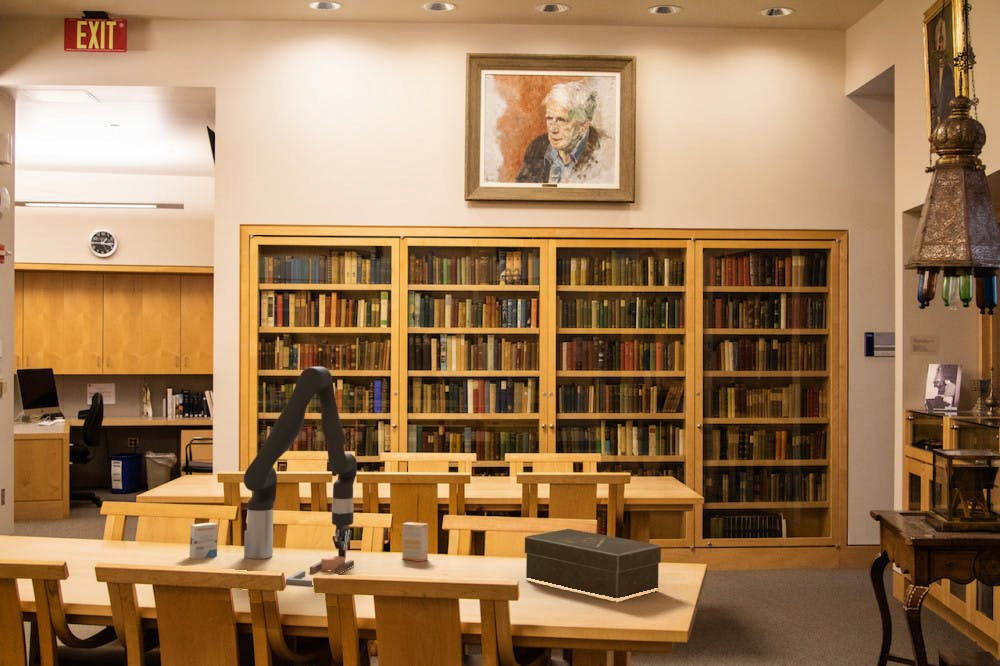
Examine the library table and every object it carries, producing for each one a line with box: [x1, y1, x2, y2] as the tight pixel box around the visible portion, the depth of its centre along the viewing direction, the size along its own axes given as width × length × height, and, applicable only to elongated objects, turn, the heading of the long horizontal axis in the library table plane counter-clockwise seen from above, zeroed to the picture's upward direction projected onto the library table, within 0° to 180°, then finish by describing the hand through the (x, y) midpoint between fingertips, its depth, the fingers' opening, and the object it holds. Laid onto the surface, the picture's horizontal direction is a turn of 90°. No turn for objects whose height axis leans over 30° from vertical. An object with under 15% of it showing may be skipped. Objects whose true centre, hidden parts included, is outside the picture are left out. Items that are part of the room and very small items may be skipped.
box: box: [524, 528, 662, 598], centre depth 330 cm, size 22×39×15 cm, turn 45°
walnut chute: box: [309, 559, 355, 575], centre depth 348 cm, size 10×14×2 cm
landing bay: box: [285, 570, 338, 587], centre depth 332 cm, size 13×12×2 cm
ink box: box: [189, 522, 219, 560], centre depth 366 cm, size 9×5×12 cm, turn 129°
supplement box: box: [401, 521, 429, 562], centre depth 367 cm, size 8×5×13 cm, turn 65°
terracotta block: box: [320, 555, 346, 572], centre depth 349 cm, size 6×6×4 cm
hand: (341, 560), depth 357 cm, fingers closed
